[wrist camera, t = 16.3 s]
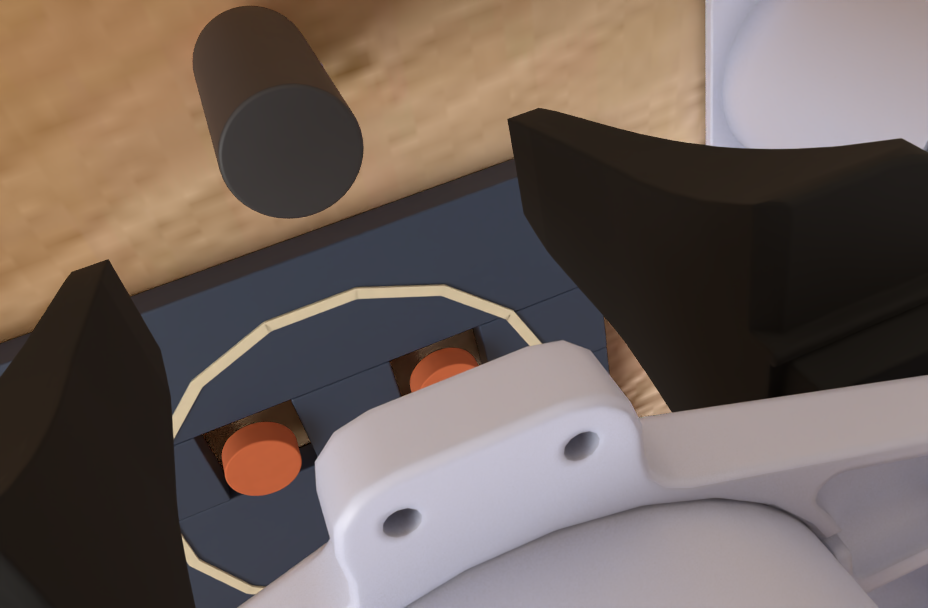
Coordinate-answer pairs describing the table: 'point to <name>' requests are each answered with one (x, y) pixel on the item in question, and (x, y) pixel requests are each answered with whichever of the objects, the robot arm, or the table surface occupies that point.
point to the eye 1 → (261, 458)
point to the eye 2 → (441, 367)
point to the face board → (337, 349)
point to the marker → (274, 115)
